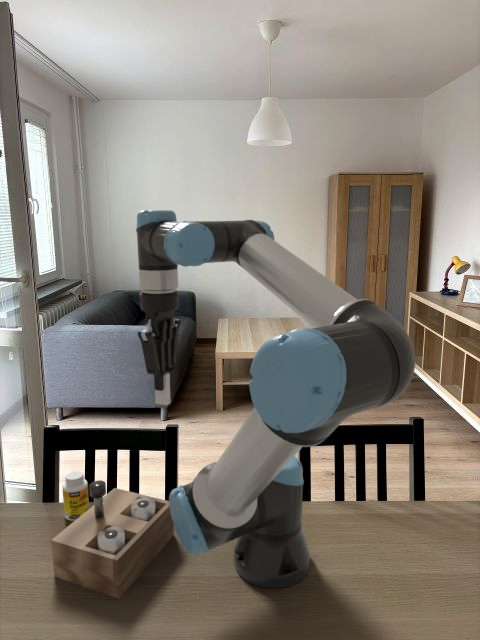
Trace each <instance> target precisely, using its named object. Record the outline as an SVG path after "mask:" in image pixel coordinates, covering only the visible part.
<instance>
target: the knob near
mask: <svg viewBox="0 0 480 640" xmlns="http://www.w3.org/2000/svg"><path fill="white" fill-rule="evenodd" d="M124 547H125V532H124V530H123V529H122V528H120V527H108V528H105V529H103V530H102V531H100V532H99V534H98V550H99V551H102V552H106V553H109V554H112V555H115V556H116V555H117V554H118V553H119V552H120V551H121V550H122V549H123V548H124Z"/></svg>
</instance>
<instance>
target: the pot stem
mask: <svg viewBox="0 0 480 640" xmlns="http://www.w3.org/2000/svg"><path fill="white" fill-rule="evenodd" d="M88 490H89V497H91V498H92V499H93V505H94V510H95V517H96V518H102V517H103V516H104V507H103V497H104V496H105V495H107V484H106V481H104V480H95V481H92V482H91V483H90V484H88Z"/></svg>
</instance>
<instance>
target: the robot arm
mask: <svg viewBox="0 0 480 640" xmlns="http://www.w3.org/2000/svg"><path fill="white" fill-rule="evenodd" d="M135 233H136V238H137V239H136V243H137V256H138V257H137V258H138V259H137V260H138V270H139V271H138V278H139V279H138V280H139V289H140V290H141V291H140V293H139V305H140V310H141V312H144V313H145V321H144V325H145V326H144V328H143V330H142V329H141V330H138V331H137V336H138V339H139V341H140V344H141V347H142V348H141V349H142V355H143V358H144V363H145V364H144V365H145V370H146V374H148V375H153V381H154V400H155V405H161V406H168V405H170V404H171V402H172V401H171V375H170V374H171V373H175V370H176V368H173V367H175V366H176V365H177V354H178V353H177V352H178V341H179V332H180V331H179V330H180V326H181V323H182V322H181V321H182V320H181V318H179V319H178V318H175V313H174V312H175V311H177V310H178V309H179V306H180V304H179V303H180V302H179V301H180V299H179V292H178V291H177V290H176V289H178V288H179V272H178V270H179V269H178V268H179V267H178V266H182V267H185V268H187V267H199V266H202V265H204V264H213V263H214V264H215V263H227V262H229V263H230V262H233V263H236V264H237V265H238V266H240V267H241V268H242V269H243V270H244V271H246V272H247V273H248V274H249V275H250V276H251V277H252V278H254V279H255V280H256V281H257V282H258V283H260V284H261V285H262V286H263V287H265V288H266V290H269V292H270V293H272V294H273V295H274V296H275V297H276V298H277V299H279V300H280V301H281V302H282V303H283V304H284V305H286V306H287V307H288V308H289V309H291V310H292V311H293V312H294V313H295V314H296V315H298V316H299V317H300V318H301V319H302V320H303V321H305V322H306V323H307V324H308V325H309V326H310V327H312V328H302V327H301V328H295V329H293V330H290V331H287V332H284V333H280V334H278V335H275V336H273V337H271V338H269V339H268V340H267V341H265V342H264V343H263V344H262V345H261V346H260V348H259V349H258V350H257V351H256V353H255V355H254V357H253V359H252V362H251V366H250V370H249V375H251V377H252V379H251V380H249V381H248V383H249V386H248V387H249V392H250V393H249V394H250V397H251V401H252V405H253V408H252V411H250V413H249V415H248V417H246V419H245V420H244V421H243V424H242V425H241V426H240V428H239V429H238V430H237V432H236V434H235V435H234V437H232V440H231V441H230V442H229V444H228V445H227V447H226V448H225V449H224V451H223V453H222V454H221V455H220V457H219V458H218V460H217V461H214V462H212V463H209V464H207V465H205V466H204V467H203V468H201V470H199V472H198V473H197V475H196V476H195V477H194V478H193V480H192V481H191V482H189V483H187V484H186V483H185V484H183V485H182V484H181V485H179V486H177V487H176V488H173V489H172V490H171V491H170V493H169V496H168V501H169V506H170V512H171V517H172V521H173V525H174V530H175V533H176V535H177V537H178V539H179V541H180V543H181V545H182V546H183V548H184V549H185V550H186V551H187V552H188V553H189V554H191V555H195V556H197V555H201V554H203V553H209V552H210V551H211V550H213V549H215V548H217V547H220V546H222V545H224V544H227V543H229V542H231V541H234V540H236V539H237V541H236V543H235V547H234V550H233V563H234V567H235V570H236V572H237V573H238V574H239V576H240V577H241V578H242V579H244V580H245V581H247V582H248V583H250V584H252V585H254V586H257V587H261V588H267V589H282V588H287V587H290V586H293V585H295V584H297V583H299V582H301V580H302V579H304V578H305V576H306V575H307V574H308V572H309V569H310V551H309V550H310V549H309V547H308V543H307V542H306V538H305V534H304V532H303V530H302V520H303V495H304V494H303V493H304V492H303V491H304V483H305V480H304V477H303V475H304V474H303V472H304V471H303V465H302V462H301V461H300V460H299V459H298V457H296V455H297V454H298V453H299V452H300V451H301V449H302V448H303V447H304V448H308V447H310V448H311V447H313V446H317V445H319V444H321V443H323V442H325V440H327V438H329V437H330V436H331V434H332V433H333V432H334V431H335V430H336V429H337V428H338V427H339V426H340V425H341V424H342V423H343V422H344V421H345V420H347V419H348V418H350V417H351V416H353V415H356V414H359V413H363V412H366V411H369V410H372V409H375V408H378V407H382V406H385V405H387V404H389V403H392V402H394V401H395V400H396V399H398V398H399V397H400V396H401V395H402V394H403V393H404V392H405V391H406V390H407V388H408V387H409V385H410V384H411V381H412V379H413V376H414V372H415V370H416V369H415V368H416V353H415V352H416V351H415V348H414V345H413V341H412V339H411V337H410V334H408V332H407V330H406V329H405V328H404V327H403V325H402V324H401V323H400V322H399V321H398V320H397V319H396V318H395V317H394V316H393V315H391V313H390V312H388V311H387V310H385V309H384V308H382V307H381V306H379V305H378V304H376V303H375V302H374V301H373V300H370V299H368V298H360V299H357V298H356V297H354V296H353V295H351V294H350V293H349V292H347V291H346V290H344V289H343V288H342V287H340V286H339V285H338V284H336V283H335V282H333V281H332V280H331V279H329V278H328V277H326V275H323V274H322V273H321V272H319V271H318V270H316V269H315V267H313V266H311V265H310V264H308V263H307V262H305V261H304V260H303V259H301V258H300V257H298V256H297V255H296V254H294V253H293V252H291V251H290V250H288V249H287V248H285V246H283V245H281V244H280V243H279V242H277V241H276V240H275V235H274V231H273V230H272V229H271V226H270V225H269V224H268V223H267V222H265V221H262V220H253V219H244V220H221V221H220V220H213V221H212V220H211V221H210V220H209V221H208V220H207V221H205V220H203V221H201V220H197V221H194V220H193V221H186V220H185V221H177V214H176V213H175V211H173V210H170V209H169V210H168V209H166V210H164V209H162V210H161V209H156V210H149V209H148V210H145V209H144V210H143V209H142V210H140V211H139V212H138V213H137V215H136V228H135Z"/></svg>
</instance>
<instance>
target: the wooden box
mask: <svg viewBox="0 0 480 640" xmlns="http://www.w3.org/2000/svg"><path fill="white" fill-rule="evenodd" d="M139 498H151V499H153V500H154V501H155V511H156V515H155V516H154V517H153V518H152V519H151V520H150V521H149V522H147V521H143V520H140V519H136V518H132V516H131V504H132V502H133V501H135V500H136V499H139ZM103 507H104V516H103V517H102V518H96V517H95V510H94V504H93V505H92V506H91V507H89V509H88V510H87V511H86V512H85V513H84V514H82V515H81V516H80V517H79V518H78V519H76V520H75V521H72V523H70V524H69V525H68V526H67V527H65V528H64V529H63V530H62V531H61V532H59V533H58V534H57V535H56V536H54V537H53V538H52V539H51V540H50V541H51V552H52V553H51V554H52V562H53V563H52V564H53V565H52V566H53V575H54V578H58V579H60V580H63V581H66V582H68V583H72V584H75V585H78V586H80V587H83V588H86V589H90V590H93V591H95V592H98V593H101V594H103V595H106V596H107V595H108V596H111V597H113V598H116V599H121V598H122V596H124V594H125V593H126V592H127V590H129V588H130V587H131V586H132V585H133V583H134V582H135V581H136V580H137V579H138V578H139V577H140V576H141V574H142V573H143V572H144V571H145V569H147V568H148V566H149V565H150V564H151V563H152V562H153V560H154V559H155V558H156V557H157V556H158V554H159V553H160V552H161V551H162V550H163V548H165V547H166V545H167V544H168V543H169V542H170V540H171V539H172V538H173V536H174V535H175V534H174V532H175V531H174V530H175V527H174V524H173V521H172V517H171V512H170V506H169V500H166V499H161V498H158V497H153V496H149V495H147V494H141V493H137V492H133V491H130V490H129V491H128V490H124V489H120V488H117V487H114V488H113V489H112V490H110V491H109V492H108V493H106V494H105V495H104V496H103ZM108 527H120V528H122V529H123V530H124V532H125V547H124V548H123V549H122V550H121V551H120V552H119V553H118V554H117V555H116V556H115V555H112V554H109V553H106V552H102V551H99V550H98V534H99V532H100V531H102V530H103V529H105V528H108Z"/></svg>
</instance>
